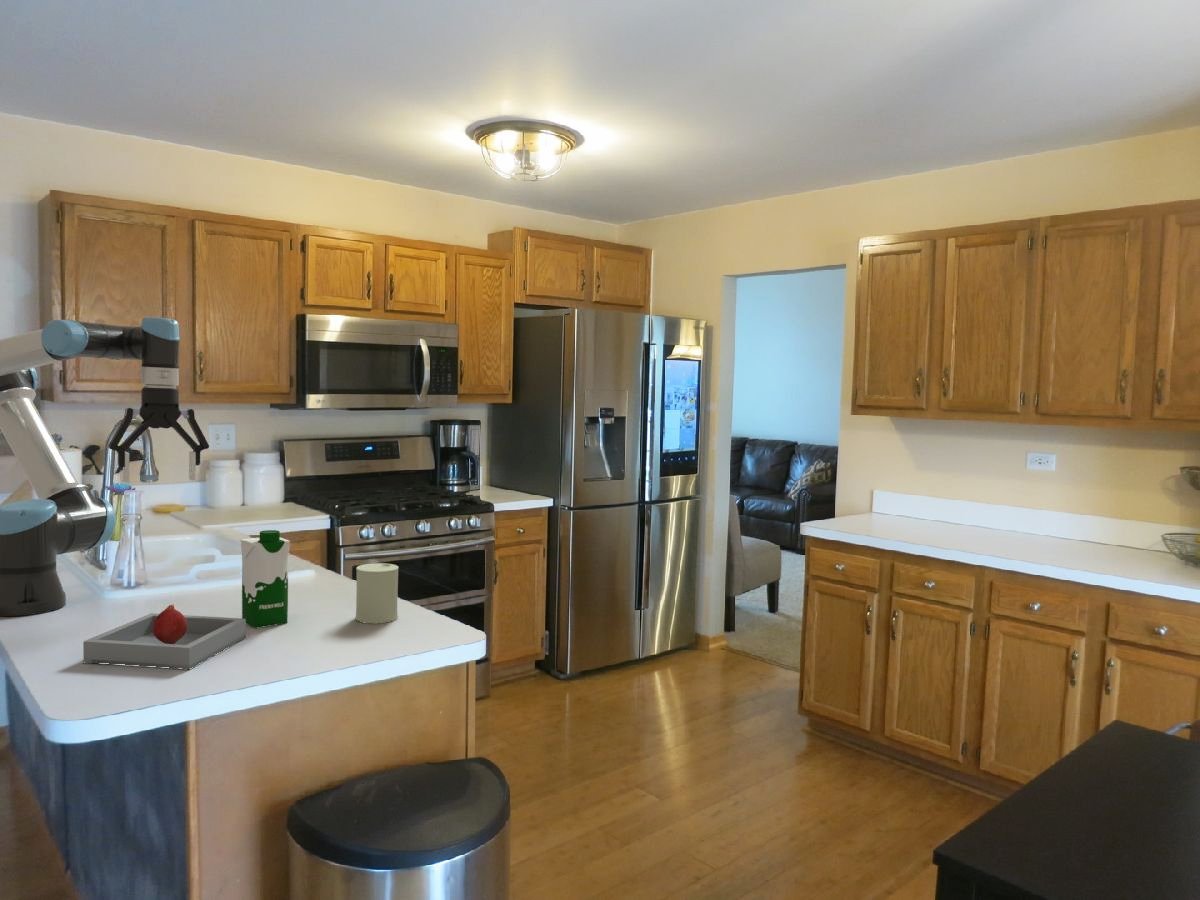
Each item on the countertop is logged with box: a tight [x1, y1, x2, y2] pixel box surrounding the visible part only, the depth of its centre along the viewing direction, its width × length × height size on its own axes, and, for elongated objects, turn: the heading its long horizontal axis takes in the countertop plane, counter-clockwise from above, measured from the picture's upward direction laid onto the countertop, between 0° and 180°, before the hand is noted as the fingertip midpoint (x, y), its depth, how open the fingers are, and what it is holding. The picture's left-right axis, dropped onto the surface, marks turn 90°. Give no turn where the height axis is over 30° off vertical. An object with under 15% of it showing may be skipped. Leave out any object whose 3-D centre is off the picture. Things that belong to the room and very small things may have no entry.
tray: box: [82, 612, 247, 670], centre depth 162 cm, size 20×20×4 cm
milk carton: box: [240, 529, 291, 629], centre depth 183 cm, size 9×9×20 cm
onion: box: [153, 604, 187, 644], centre depth 162 cm, size 6×6×8 cm
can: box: [355, 562, 400, 624], centre depth 189 cm, size 9×9×12 cm
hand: (159, 480), depth 193 cm, fingers open, 13 cm apart
